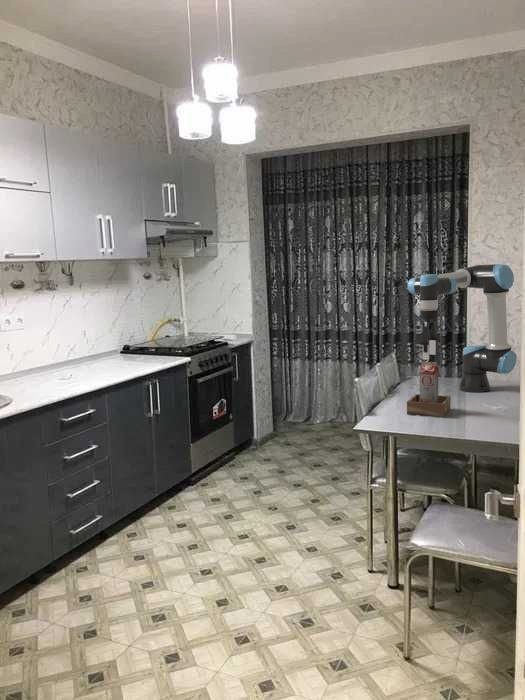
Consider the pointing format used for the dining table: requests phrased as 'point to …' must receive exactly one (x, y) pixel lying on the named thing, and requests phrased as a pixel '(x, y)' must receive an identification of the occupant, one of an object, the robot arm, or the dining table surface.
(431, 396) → the juice carton
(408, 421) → the dining table surface
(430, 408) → the walled box
